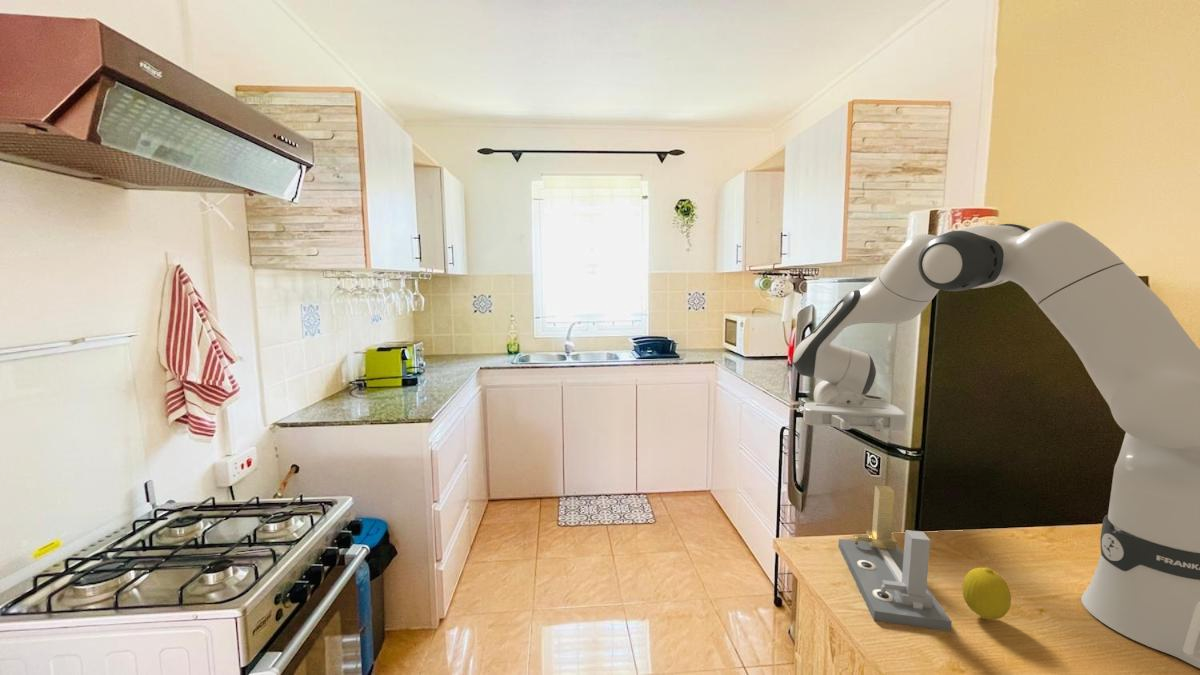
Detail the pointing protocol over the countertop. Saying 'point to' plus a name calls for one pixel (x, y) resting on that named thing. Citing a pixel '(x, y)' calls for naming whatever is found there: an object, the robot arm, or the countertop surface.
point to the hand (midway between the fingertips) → (862, 426)
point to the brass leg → (881, 520)
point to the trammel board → (896, 581)
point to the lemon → (986, 593)
